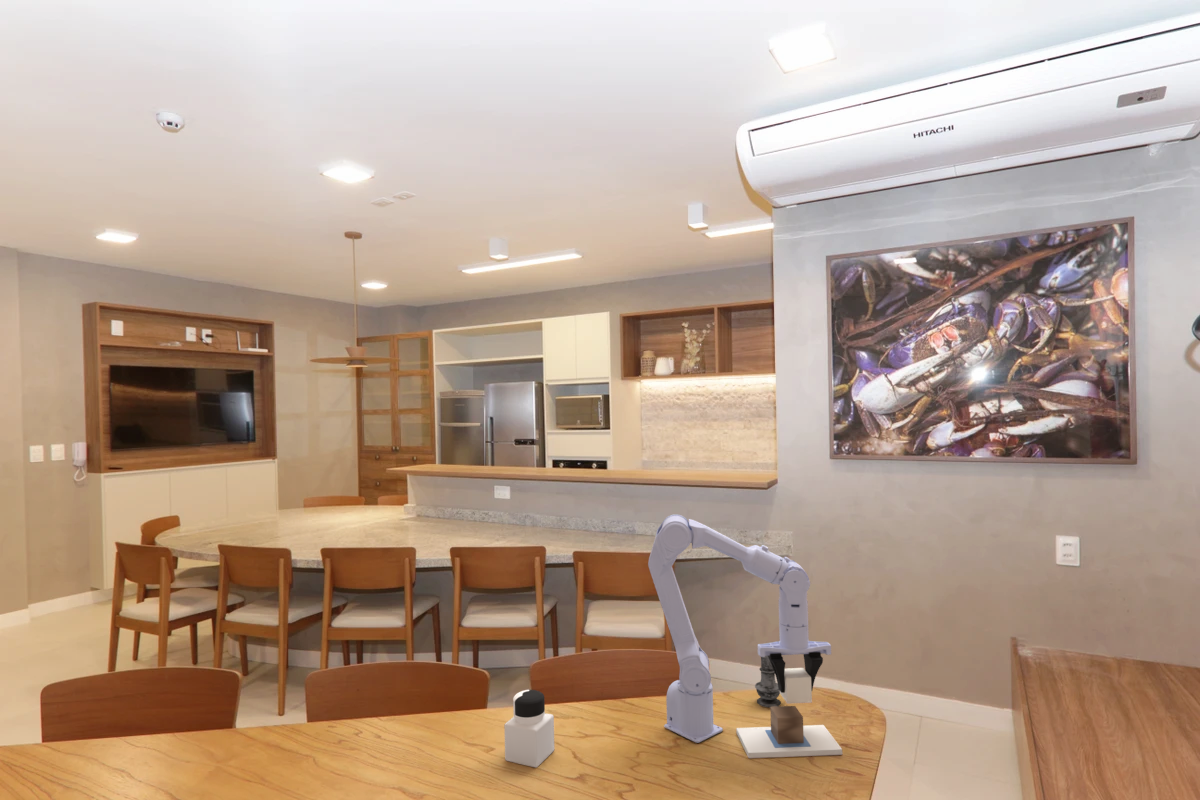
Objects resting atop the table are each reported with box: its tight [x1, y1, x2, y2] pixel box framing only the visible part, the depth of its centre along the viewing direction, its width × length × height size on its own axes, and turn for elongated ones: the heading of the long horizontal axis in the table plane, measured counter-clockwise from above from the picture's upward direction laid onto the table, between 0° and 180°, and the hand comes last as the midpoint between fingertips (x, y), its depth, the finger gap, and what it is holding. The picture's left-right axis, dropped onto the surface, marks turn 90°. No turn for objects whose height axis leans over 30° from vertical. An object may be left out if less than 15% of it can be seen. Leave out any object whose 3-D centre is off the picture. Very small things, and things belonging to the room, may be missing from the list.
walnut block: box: [769, 705, 804, 744], centre depth 134 cm, size 5×5×5 cm
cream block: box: [779, 667, 813, 705], centre depth 137 cm, size 5×5×5 cm
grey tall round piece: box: [754, 655, 781, 709], centre depth 152 cm, size 6×6×12 cm
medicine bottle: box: [504, 689, 555, 769], centre depth 131 cm, size 7×7×12 cm
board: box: [735, 724, 843, 759], centre depth 133 cm, size 18×10×1 cm, turn 92°
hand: (795, 690), depth 137 cm, fingers closed on cream block, 5 cm apart
